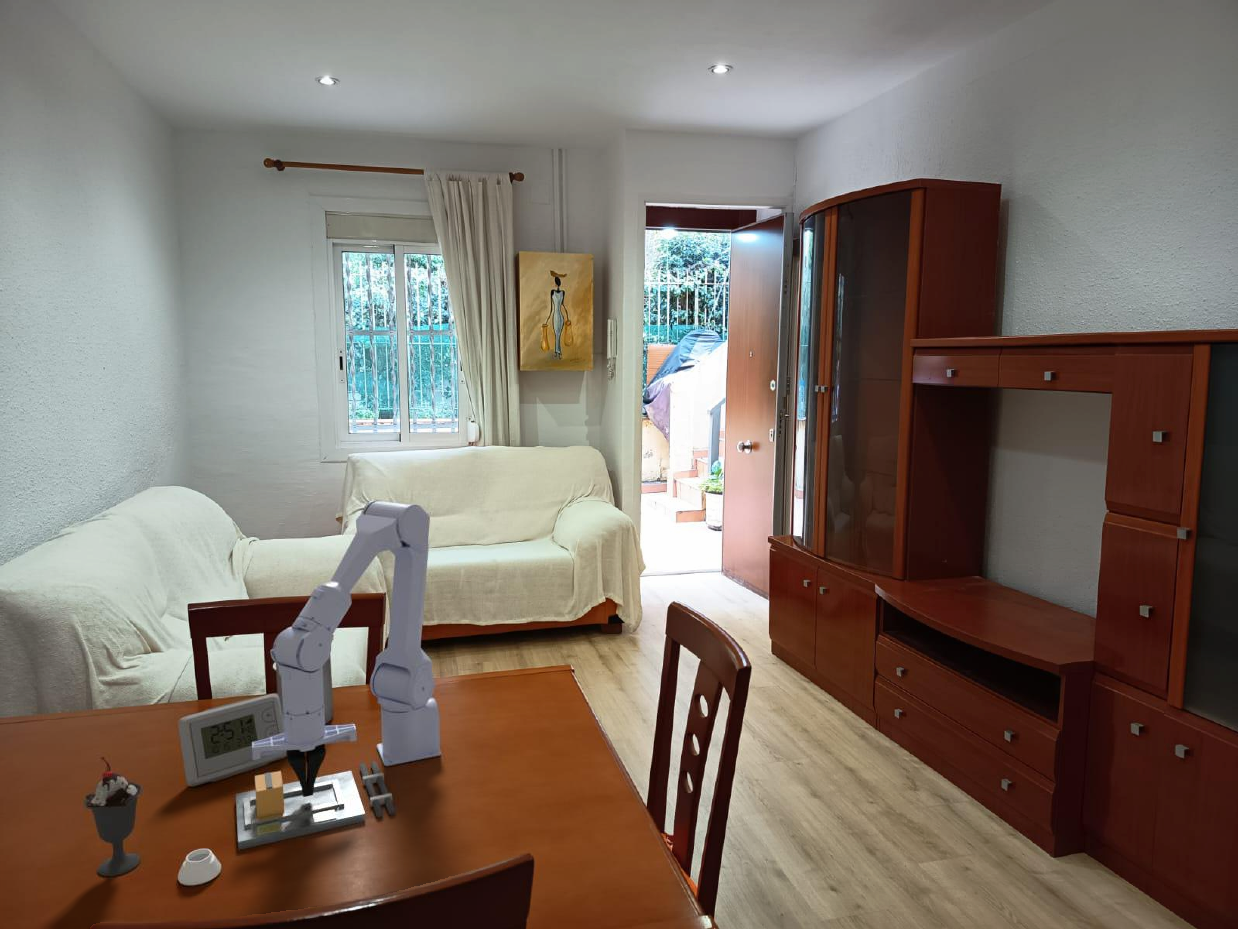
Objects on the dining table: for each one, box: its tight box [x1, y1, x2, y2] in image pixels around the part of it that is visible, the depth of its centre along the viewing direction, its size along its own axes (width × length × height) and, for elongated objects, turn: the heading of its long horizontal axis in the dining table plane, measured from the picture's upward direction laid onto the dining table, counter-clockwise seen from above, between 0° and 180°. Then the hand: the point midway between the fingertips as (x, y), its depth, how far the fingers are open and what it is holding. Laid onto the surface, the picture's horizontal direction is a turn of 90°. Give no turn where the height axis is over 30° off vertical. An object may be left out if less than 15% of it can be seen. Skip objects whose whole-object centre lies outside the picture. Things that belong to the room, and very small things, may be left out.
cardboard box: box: [254, 770, 284, 818], centre depth 122 cm, size 4×5×5 cm
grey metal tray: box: [235, 770, 366, 851], centre depth 124 cm, size 17×14×2 cm
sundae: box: [83, 755, 144, 877], centre depth 109 cm, size 7×7×15 cm
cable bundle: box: [359, 760, 396, 819], centre depth 130 cm, size 3×16×1 cm, turn 26°
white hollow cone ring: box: [177, 848, 222, 886], centre depth 108 cm, size 5×3×5 cm
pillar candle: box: [275, 655, 334, 725], centre depth 154 cm, size 10×10×15 cm
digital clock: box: [177, 693, 287, 787], centre depth 136 cm, size 16×9×11 cm, turn 121°
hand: (307, 793), depth 124 cm, fingers closed
